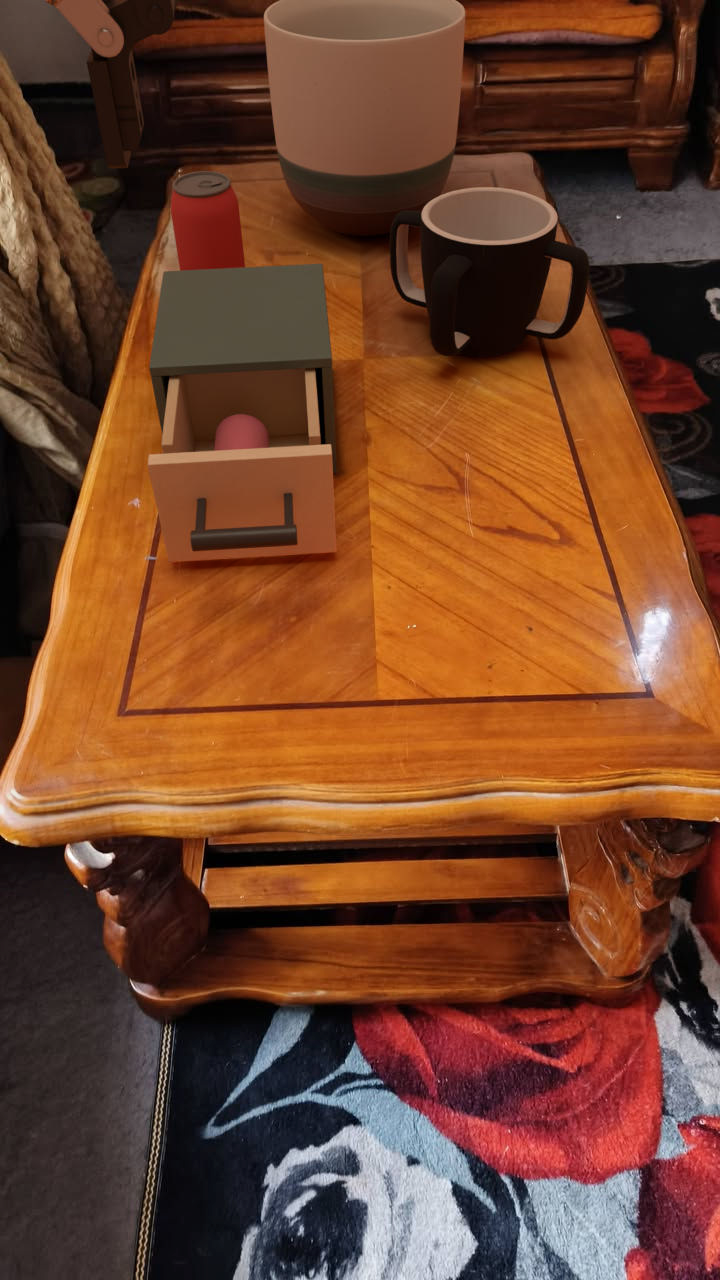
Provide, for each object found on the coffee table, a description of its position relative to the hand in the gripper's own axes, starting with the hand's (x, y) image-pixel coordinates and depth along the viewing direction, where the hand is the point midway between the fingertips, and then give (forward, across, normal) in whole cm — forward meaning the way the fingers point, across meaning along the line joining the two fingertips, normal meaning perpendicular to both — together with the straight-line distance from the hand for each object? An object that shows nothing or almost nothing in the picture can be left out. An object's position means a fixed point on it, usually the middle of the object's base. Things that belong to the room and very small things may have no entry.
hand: (8, 165), depth 37 cm
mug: (+34, +28, +46) cm, 64 cm away
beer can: (+34, +2, +56) cm, 66 cm away
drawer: (+33, +6, +19) cm, 39 cm away
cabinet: (+34, +6, +33) cm, 48 cm away
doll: (+30, +6, +25) cm, 39 cm away
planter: (+34, +19, +73) cm, 83 cm away
